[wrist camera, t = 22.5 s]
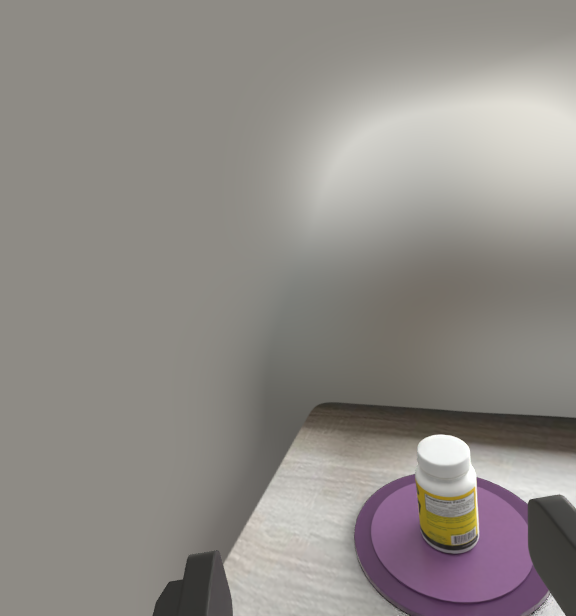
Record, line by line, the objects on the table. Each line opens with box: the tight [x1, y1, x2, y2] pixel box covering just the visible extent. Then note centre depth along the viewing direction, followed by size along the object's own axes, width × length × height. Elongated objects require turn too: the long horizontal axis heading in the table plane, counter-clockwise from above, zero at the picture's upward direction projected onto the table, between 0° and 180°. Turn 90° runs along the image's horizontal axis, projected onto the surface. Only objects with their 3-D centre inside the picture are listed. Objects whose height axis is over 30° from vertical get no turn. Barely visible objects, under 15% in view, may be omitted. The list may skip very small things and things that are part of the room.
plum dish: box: [354, 474, 550, 616], centre depth 39 cm, size 16×16×1 cm
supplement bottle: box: [415, 435, 479, 554], centre depth 37 cm, size 5×5×8 cm
